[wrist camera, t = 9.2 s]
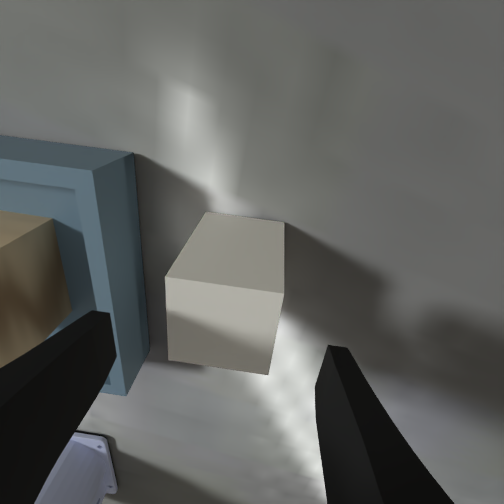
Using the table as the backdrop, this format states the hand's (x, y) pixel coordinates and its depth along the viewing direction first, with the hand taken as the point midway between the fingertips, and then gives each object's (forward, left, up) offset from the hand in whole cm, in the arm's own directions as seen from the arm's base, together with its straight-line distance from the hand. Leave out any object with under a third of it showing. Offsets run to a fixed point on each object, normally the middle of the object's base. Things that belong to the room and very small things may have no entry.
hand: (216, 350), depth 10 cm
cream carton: (0, 0, -7) cm, 7 cm away
